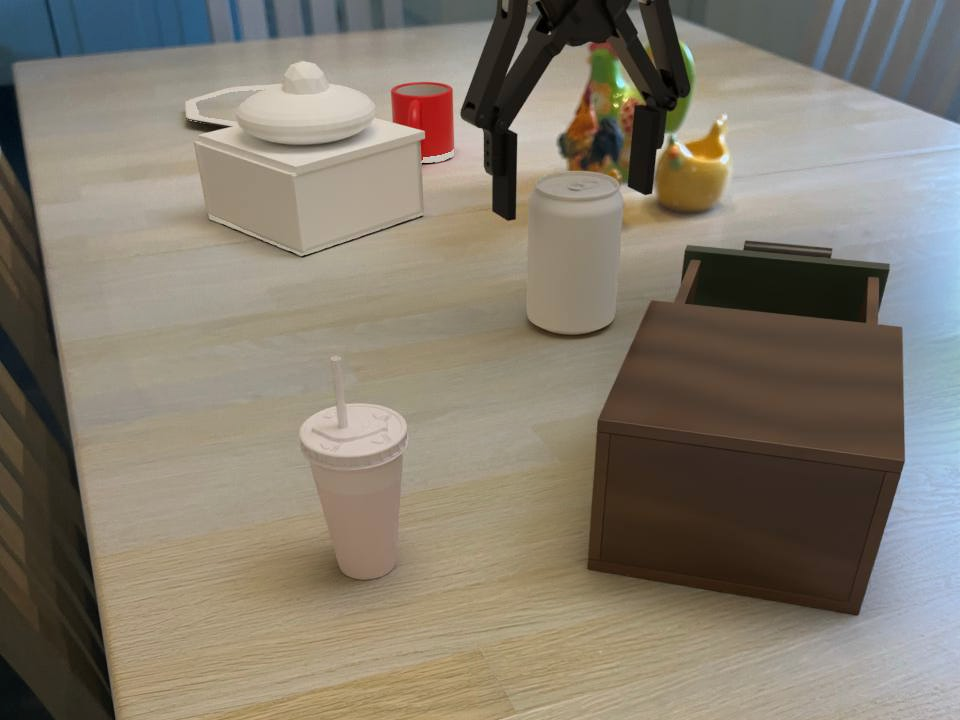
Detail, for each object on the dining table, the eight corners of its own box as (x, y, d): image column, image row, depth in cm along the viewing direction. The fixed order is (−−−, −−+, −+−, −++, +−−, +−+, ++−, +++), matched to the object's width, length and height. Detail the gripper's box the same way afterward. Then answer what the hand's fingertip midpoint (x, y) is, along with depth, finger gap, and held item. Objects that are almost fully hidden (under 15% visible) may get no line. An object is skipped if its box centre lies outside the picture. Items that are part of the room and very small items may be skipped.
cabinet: (637, 435, 77) (650, 299, 70) (864, 467, 73) (902, 326, 66) (586, 569, 64) (597, 419, 57) (858, 615, 60) (905, 460, 53)
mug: (386, 173, 127) (381, 104, 122) (399, 146, 136) (395, 81, 131) (448, 174, 127) (446, 105, 122) (457, 147, 136) (455, 81, 131)
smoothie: (320, 536, 67) (291, 336, 58) (416, 531, 68) (403, 331, 58) (314, 595, 63) (282, 387, 53) (418, 590, 63) (404, 382, 54)
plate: (277, 144, 138) (276, 132, 137) (152, 122, 147) (150, 111, 146) (379, 106, 153) (379, 95, 152) (260, 88, 162) (259, 77, 161)
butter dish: (208, 219, 115) (178, 61, 105) (331, 183, 125) (316, 35, 114) (302, 257, 106) (281, 88, 95) (428, 215, 115) (421, 57, 105)
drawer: (684, 322, 90) (696, 220, 85) (864, 341, 87) (890, 237, 81) (639, 443, 74) (651, 328, 69) (857, 473, 71) (889, 355, 65)
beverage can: (508, 319, 93) (509, 182, 86) (571, 295, 97) (577, 163, 89) (569, 347, 89) (575, 205, 81) (633, 321, 93) (645, 184, 85)
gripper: (699, -118, 79) (667, 169, 93) (410, -102, 70) (422, 213, 84) (761, -111, 74) (718, 192, 88) (459, -92, 65) (463, 241, 79)
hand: (573, 203), depth 86 cm, fingers open, 13 cm apart
